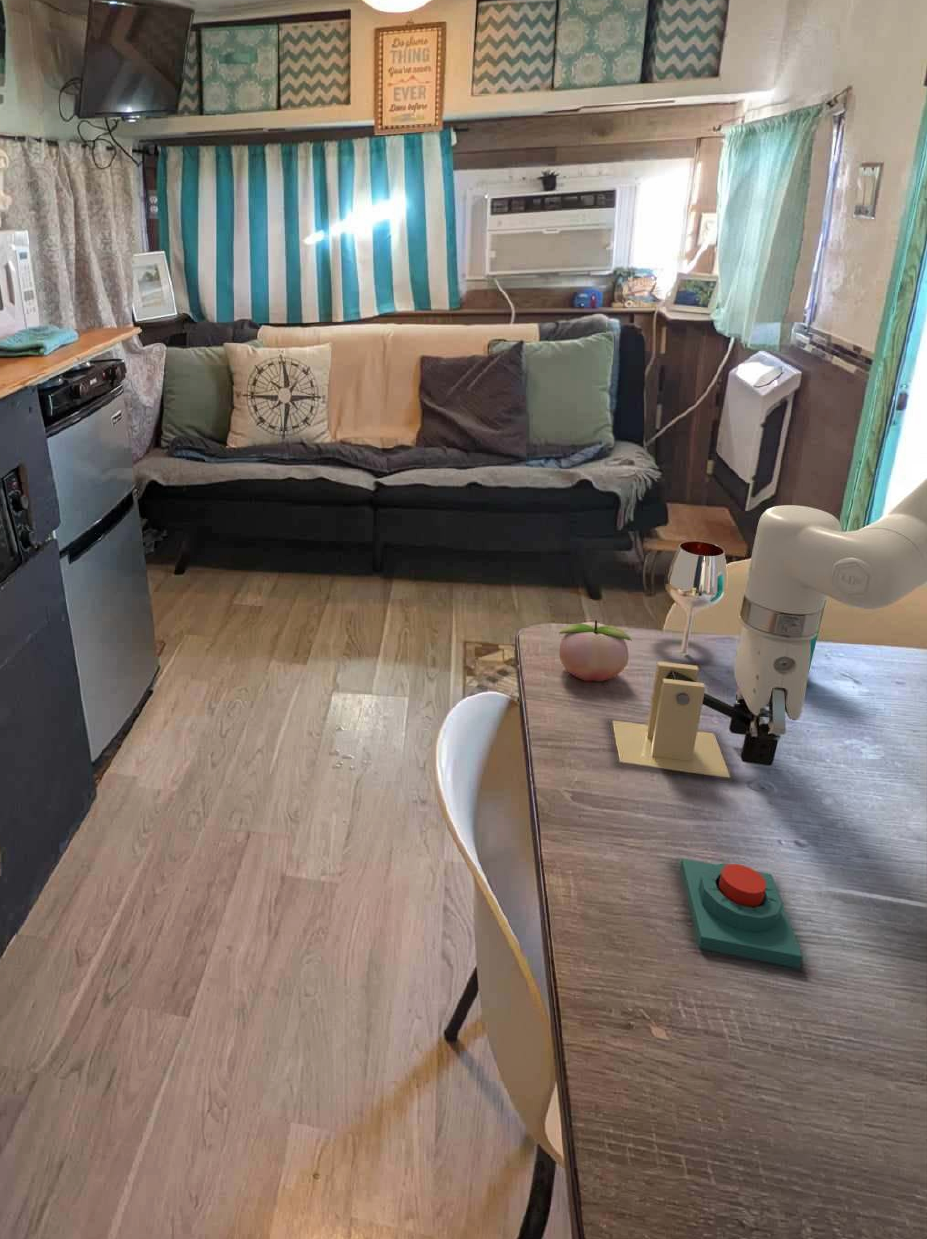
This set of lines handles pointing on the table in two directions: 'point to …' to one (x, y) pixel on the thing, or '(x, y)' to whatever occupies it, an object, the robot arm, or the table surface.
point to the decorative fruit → (593, 651)
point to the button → (742, 885)
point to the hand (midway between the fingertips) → (749, 746)
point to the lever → (719, 703)
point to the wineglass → (696, 580)
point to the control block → (738, 918)
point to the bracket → (672, 728)
